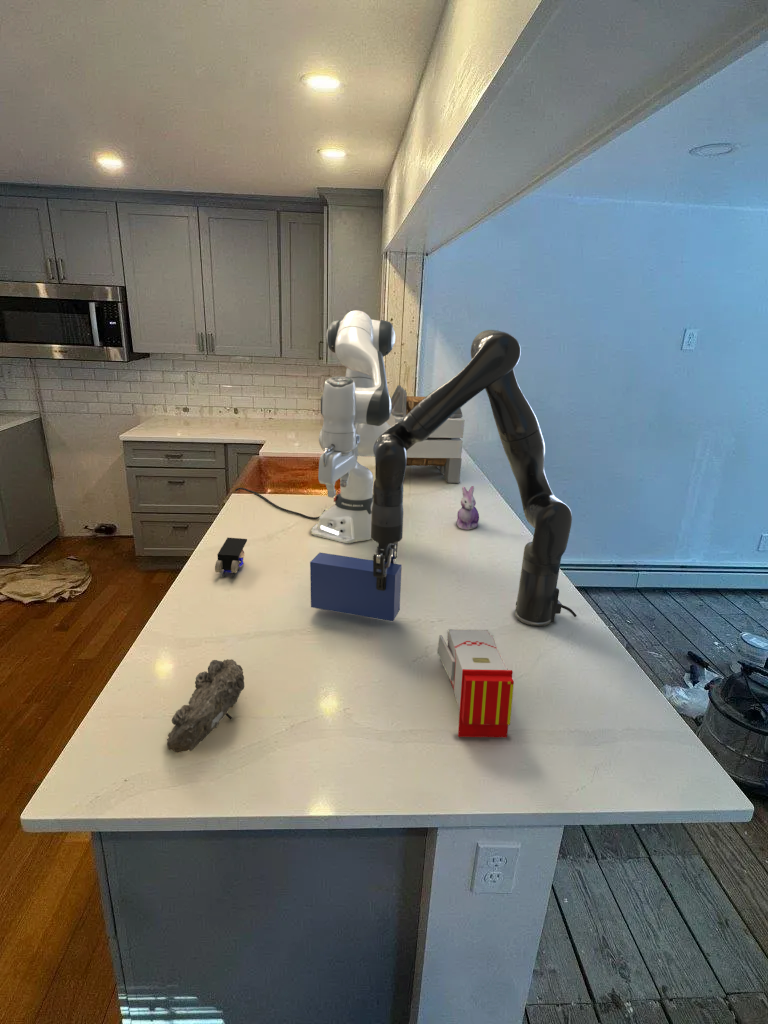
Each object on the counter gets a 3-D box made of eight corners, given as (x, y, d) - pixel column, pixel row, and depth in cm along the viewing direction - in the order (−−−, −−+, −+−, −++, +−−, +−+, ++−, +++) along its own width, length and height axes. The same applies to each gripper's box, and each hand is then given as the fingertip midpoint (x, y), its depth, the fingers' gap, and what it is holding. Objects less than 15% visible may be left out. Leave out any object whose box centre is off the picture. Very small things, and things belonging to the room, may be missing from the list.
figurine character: (238, 584, 162) (249, 557, 175) (236, 562, 158) (247, 536, 172) (215, 584, 161) (227, 556, 175) (212, 561, 158) (225, 535, 171)
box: (310, 607, 144) (310, 561, 140) (320, 596, 150) (319, 552, 145) (393, 621, 139) (395, 575, 134) (399, 609, 144) (401, 564, 140)
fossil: (192, 660, 117) (244, 628, 112) (224, 691, 120) (276, 661, 115) (142, 746, 98) (202, 712, 93) (182, 779, 101) (242, 748, 96)
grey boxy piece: (382, 463, 289) (386, 382, 275) (445, 464, 293) (451, 384, 279) (390, 482, 257) (394, 392, 243) (460, 483, 261) (468, 394, 247)
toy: (488, 613, 130) (523, 677, 101) (484, 667, 133) (517, 744, 104) (435, 612, 130) (455, 676, 101) (432, 666, 133) (451, 743, 103)
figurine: (464, 532, 204) (468, 492, 199) (449, 522, 212) (452, 484, 207) (486, 528, 208) (490, 489, 203) (469, 519, 216) (473, 481, 211)
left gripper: (336, 451, 138) (335, 504, 143) (362, 434, 156) (360, 482, 161) (312, 448, 139) (312, 501, 144) (340, 432, 158) (339, 480, 163)
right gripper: (394, 532, 126) (392, 599, 132) (409, 512, 139) (406, 573, 145) (362, 528, 128) (361, 594, 134) (380, 508, 141) (378, 569, 147)
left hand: (338, 491), depth 153 cm, fingers open, 8 cm apart
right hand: (385, 583), depth 139 cm, fingers closed on box, 6 cm apart
